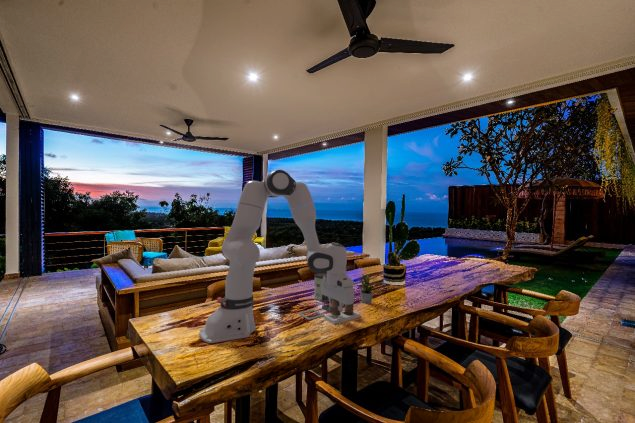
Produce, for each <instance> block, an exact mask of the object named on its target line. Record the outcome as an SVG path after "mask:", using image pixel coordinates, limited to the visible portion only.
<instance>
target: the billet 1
mask: <svg viewBox="0 0 635 423" xmlns="http://www.w3.org/2000/svg"><path fill="white" fill-rule="evenodd" d="M339 305H340V304H339V301H337V300H334V299H332V313H331V314H332V315H335V316H338V315H341V312H342V311H339V310H338V306H339Z"/></svg>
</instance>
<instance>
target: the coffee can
mask: <svg viewBox="0 0 635 423" xmlns="http://www.w3.org/2000/svg"><path fill="white" fill-rule="evenodd" d="M325 275H327V272H319V273H317V272H315V273H314V294H313V295H314V297H313V299H314V300H315V301H318V302H319V301H320V302H329V297H327V296H325V295H323V294H321V283H322V280H323V276H325Z"/></svg>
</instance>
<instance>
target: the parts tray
mask: <svg viewBox="0 0 635 423" xmlns="http://www.w3.org/2000/svg"><path fill="white" fill-rule="evenodd" d="M311 312H315V313H316V314H319V315H317V316H313V317H308V316H306V315H305V314H307V313H311ZM298 315H300V316H301V317H303V318H305V319H306V320H308V321H310V320H314V319H319V318H324V316H326V315H325V313H322V312H320V311H318V310H316V309H309V310H306V311H301V312H298Z"/></svg>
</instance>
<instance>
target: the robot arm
mask: <svg viewBox="0 0 635 423" xmlns="http://www.w3.org/2000/svg"><path fill="white" fill-rule="evenodd" d="M241 191H242V192H241V194H240V197H239V200H238V203H237V207H236V211H235V213H234V218H233V220H232V224H231V226H230V228H229V230H228V232H227V235H226V236H225V239H224V240H223V242H222V244H221V251H222V255H223V256H224V257H225V258H226V259H227V260H228V261H229V265H228V269H227V271H228V272H227V275H226V277H225V289H224V290H225V291H224V292H225V294H224V295H225V296H224V297H223V298H222V297H221V296H219V297H217V298H216V301H217V302H218V303H219V304H220V306H219V307H218V308H217V309H216V310H214V311H213V312H212V313H210V315H208V317H207V318H206V321H205V325H204V326H205V327H202V328H201V329H200V330H199V333H198V336H199V337H200V339H201V340H202V341H203V342H205V343H208V344H214V343H220V342H226V341H232V340H238V339H239V340H240V339H244V338H245V339H246V338H249V337H250V335H251V334H252V333H253V332H255V331H256V328H257V327H256V323H255V319H254V310H253V308H254V301H255V300H254V294H253V285H254V284H253V280H254V273H255V268H256V264H257V262H258V260H259V258H260V254H261V252H260V251H261V250H260V248H259V246H258V245H257V244H256V243H255V242H254V241H253V238H254V235H255V234H256V232H257V230H259V228H260V226H261V222H262V218H263V215H264V210H265V206H266V203H267V200H268V198H278V197H283V198H284V199H286V201H287V203H288V205H289V211H290V213H291V216H292V218H293V221H294V222H295V224H296V225H297V227H298V228H299V229H300V230H301V232H302V235H303V239H304V242H305V244H306V256H305V257H306V259H305V260H306V262H307V267H308V268H309V269H310V271H311V272H313V273H327V275H325V276H323V280H322V283H321V294H323V295H325V296H327V297H329V301H328V302H329V303H330V307H332V299H334V300H337V301H339V304H340V305H339V306H338V310H339V311H341V312H342V311H344V310H343V307H344V306H345V304H346V305H350V304H353V302H355V288H354V286H355V281H354V280H353V279H352V278H351V277H349V276H348V275H347V273H348V272H347V262H348V259H347V258H348V256H347V248H346V247H345V246H344V245H343V244H341V243H336V242H330V243H328V245H326V246H324V247H322V246H321V244H320V241H319V238H318V233H317V230H316V221H317V213H316V212H317V211H316V207H315V203H314V200H313V196H312V194H311V191H310V190H309V187H308V186H307V184H306V183H305V182H302V181H296V180H295V179H294V178H293V176H291V175H290V174H289V173H288V172H287V171H285V170H283V169H275V170H272V171H271V172H270V173H268V174H267V175H266V177H264V179H263V180H262V181H259V180H250V181H248V182H246V184H244V187H243V189H242V190H241ZM353 305H354V304H353Z"/></svg>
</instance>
